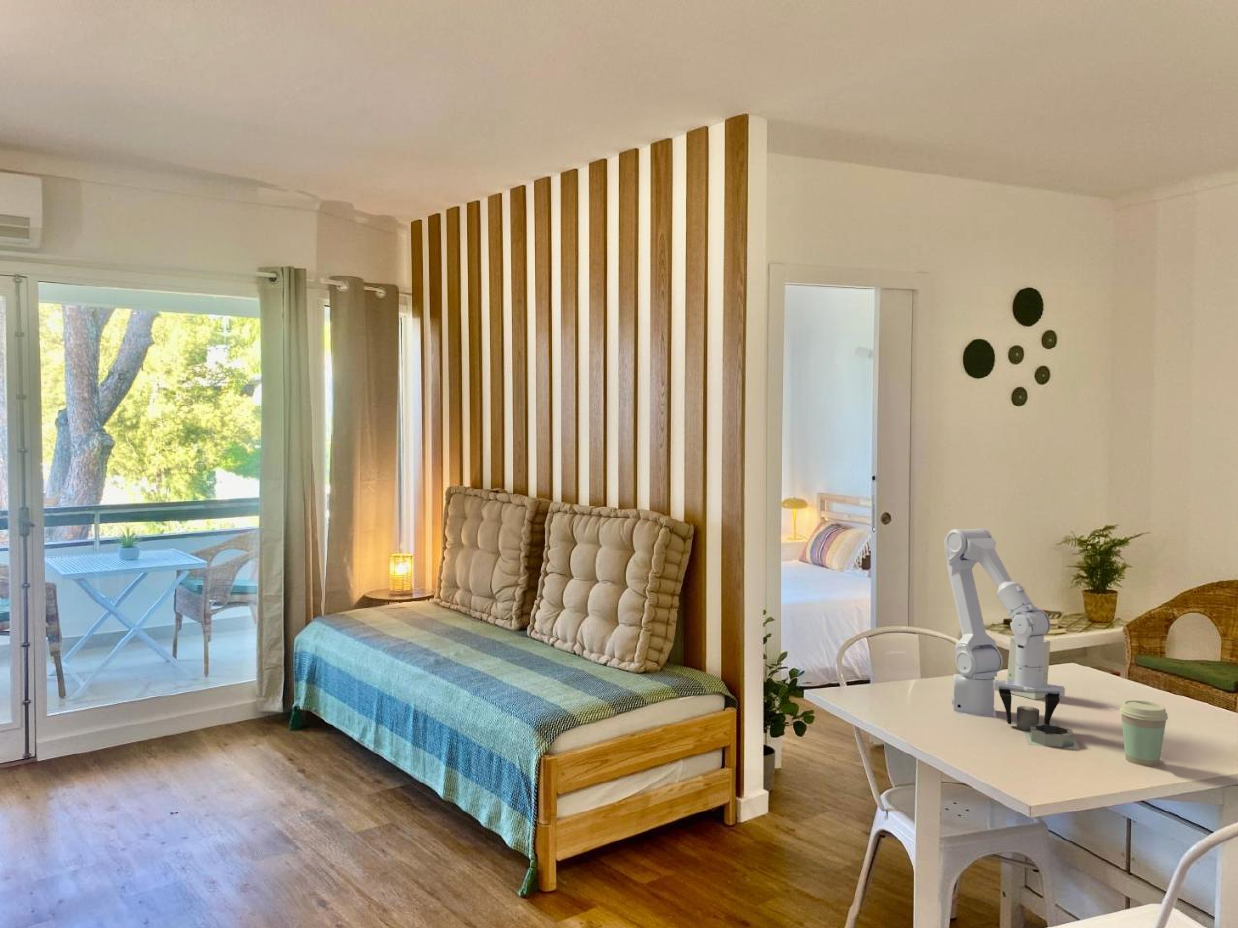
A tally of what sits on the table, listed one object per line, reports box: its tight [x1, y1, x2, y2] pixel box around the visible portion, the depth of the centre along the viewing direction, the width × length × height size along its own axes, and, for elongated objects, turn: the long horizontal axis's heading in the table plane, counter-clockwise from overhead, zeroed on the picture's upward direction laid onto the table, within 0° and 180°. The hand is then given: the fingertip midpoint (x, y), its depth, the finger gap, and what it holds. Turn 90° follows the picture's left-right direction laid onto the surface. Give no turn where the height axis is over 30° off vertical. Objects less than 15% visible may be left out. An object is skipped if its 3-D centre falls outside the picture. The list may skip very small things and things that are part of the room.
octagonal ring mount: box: [1029, 722, 1075, 749], centre depth 200 cm, size 8×8×2 cm
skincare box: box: [1006, 635, 1051, 700], centre depth 239 cm, size 8×6×15 cm
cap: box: [1016, 705, 1040, 733], centre depth 209 cm, size 5×5×5 cm
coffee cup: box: [1119, 699, 1169, 767], centre depth 188 cm, size 8×8×12 cm
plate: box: [1024, 732, 1081, 751], centre depth 200 cm, size 10×8×1 cm
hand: (1027, 724), depth 209 cm, fingers open, 7 cm apart
